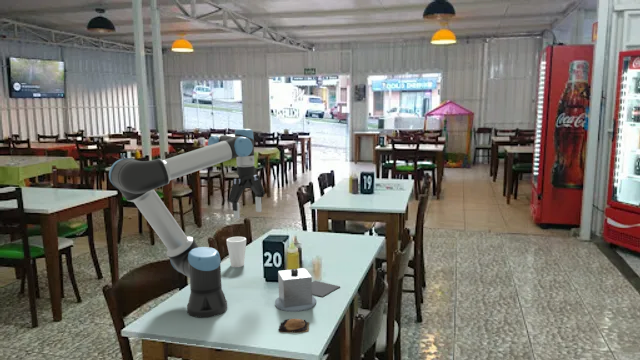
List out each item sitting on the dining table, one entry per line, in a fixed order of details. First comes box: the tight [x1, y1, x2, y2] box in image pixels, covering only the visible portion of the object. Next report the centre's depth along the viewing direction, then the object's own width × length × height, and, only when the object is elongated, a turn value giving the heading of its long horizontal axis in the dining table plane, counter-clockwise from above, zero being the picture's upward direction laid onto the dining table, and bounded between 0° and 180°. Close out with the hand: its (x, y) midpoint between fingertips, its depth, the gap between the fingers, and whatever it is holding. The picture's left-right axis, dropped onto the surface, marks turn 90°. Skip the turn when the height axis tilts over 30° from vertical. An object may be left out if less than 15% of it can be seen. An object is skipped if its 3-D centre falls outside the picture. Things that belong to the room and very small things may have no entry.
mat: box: [312, 280, 341, 298], centre depth 214 cm, size 13×13×1 cm
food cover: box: [277, 267, 313, 308], centre depth 198 cm, size 11×11×13 cm
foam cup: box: [226, 236, 247, 268], centre depth 246 cm, size 10×9×13 cm
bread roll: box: [278, 318, 310, 334], centre depth 178 cm, size 11×8×4 cm
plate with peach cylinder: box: [274, 295, 317, 313], centre depth 199 cm, size 16×16×5 cm
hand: (248, 214), depth 217 cm, fingers open, 13 cm apart
